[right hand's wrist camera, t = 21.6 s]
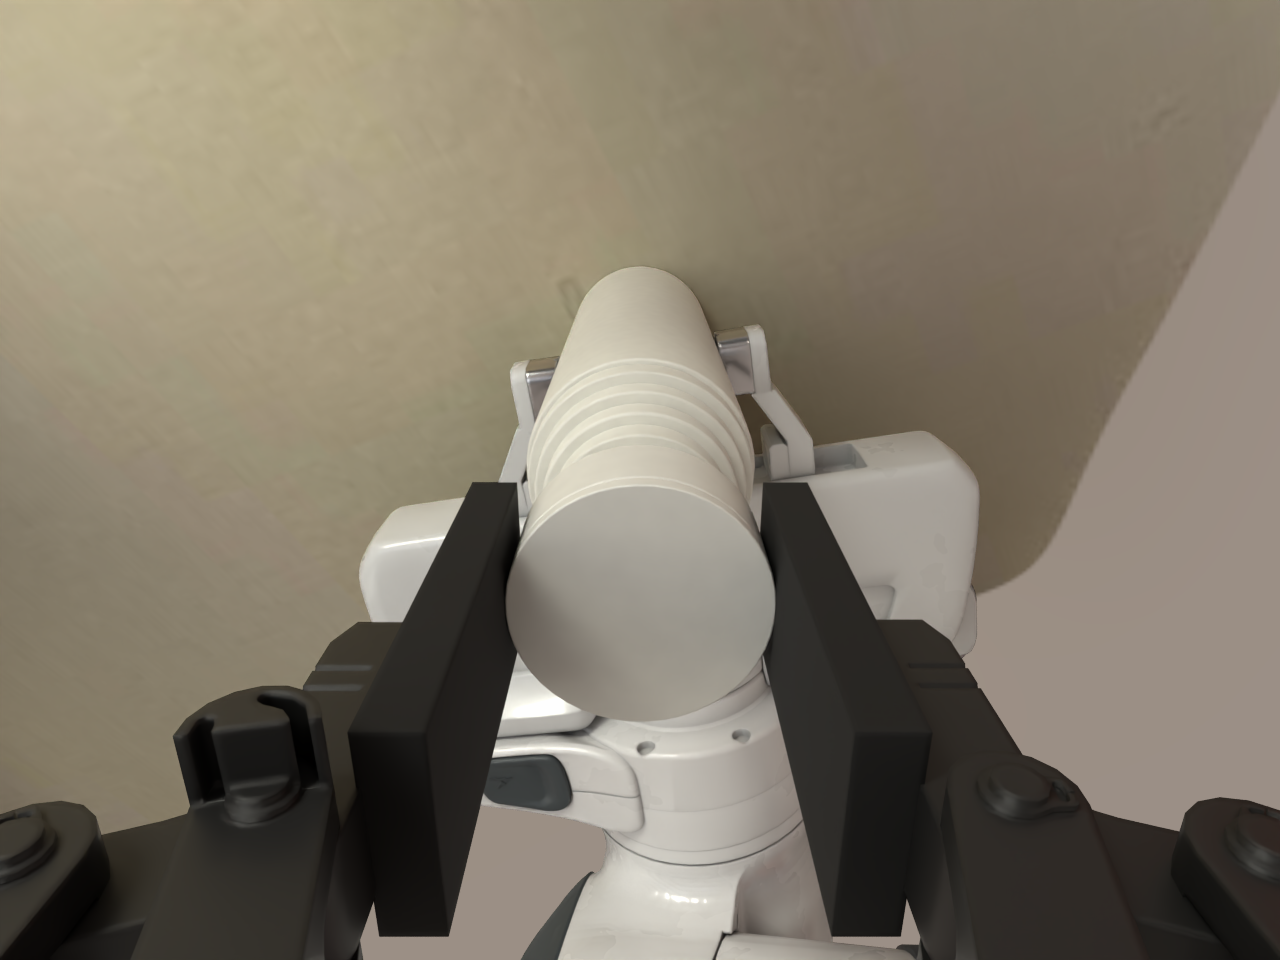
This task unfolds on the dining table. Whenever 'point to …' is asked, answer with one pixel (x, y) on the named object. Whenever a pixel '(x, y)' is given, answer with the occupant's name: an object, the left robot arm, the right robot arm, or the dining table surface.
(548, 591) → the cap
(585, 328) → the bottle
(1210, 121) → the dining table surface
